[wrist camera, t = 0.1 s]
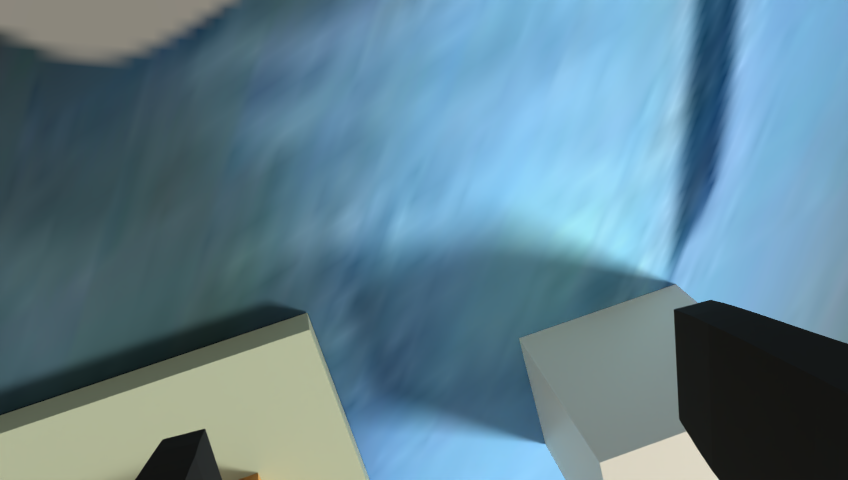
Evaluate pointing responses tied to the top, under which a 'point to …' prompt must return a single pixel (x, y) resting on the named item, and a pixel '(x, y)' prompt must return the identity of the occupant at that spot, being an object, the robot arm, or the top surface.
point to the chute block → (614, 393)
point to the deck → (196, 415)
